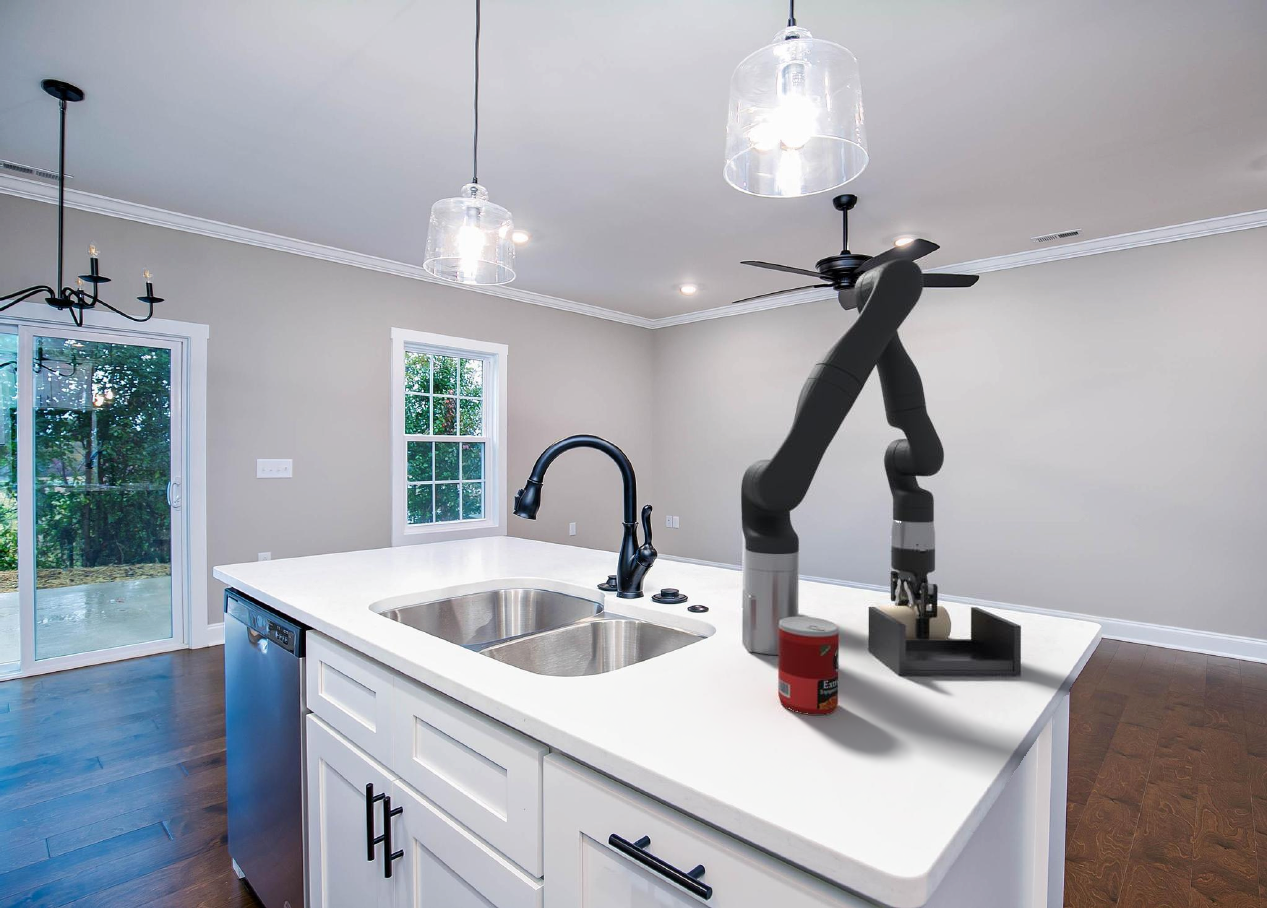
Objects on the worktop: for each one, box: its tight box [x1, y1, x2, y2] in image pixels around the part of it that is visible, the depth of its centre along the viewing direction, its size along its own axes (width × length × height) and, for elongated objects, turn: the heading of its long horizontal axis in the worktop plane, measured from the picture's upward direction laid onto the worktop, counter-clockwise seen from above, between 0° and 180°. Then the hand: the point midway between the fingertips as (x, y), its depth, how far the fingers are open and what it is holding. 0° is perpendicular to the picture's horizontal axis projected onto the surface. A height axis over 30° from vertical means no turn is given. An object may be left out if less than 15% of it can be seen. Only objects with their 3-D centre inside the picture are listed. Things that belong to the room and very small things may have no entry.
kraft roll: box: [875, 605, 952, 639], centre depth 116 cm, size 14×6×6 cm, turn 91°
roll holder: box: [867, 606, 1022, 677], centre depth 101 cm, size 19×12×8 cm, turn 91°
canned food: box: [777, 616, 840, 715], centre depth 84 cm, size 8×8×11 cm
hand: (912, 632), depth 116 cm, fingers open, 7 cm apart
